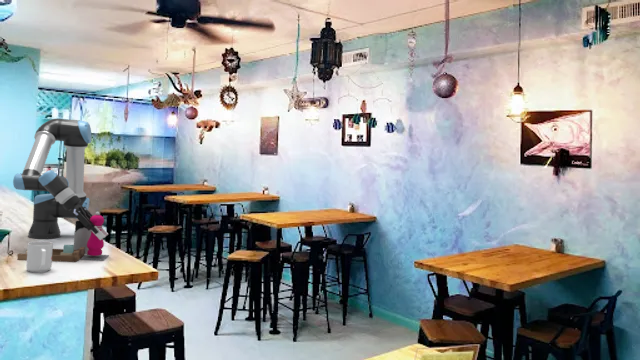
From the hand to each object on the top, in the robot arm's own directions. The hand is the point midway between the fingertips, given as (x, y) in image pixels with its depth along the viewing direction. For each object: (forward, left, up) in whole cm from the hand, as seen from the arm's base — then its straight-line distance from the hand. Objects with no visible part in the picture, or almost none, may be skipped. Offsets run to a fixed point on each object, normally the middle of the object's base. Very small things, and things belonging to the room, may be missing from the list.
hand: (104, 237), depth 223 cm
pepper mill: (0, -4, -8) cm, 9 cm away
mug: (+27, -18, -10) cm, 34 cm away
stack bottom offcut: (+2, -14, -10) cm, 18 cm away
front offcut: (+3, -29, -10) cm, 31 cm away
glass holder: (-13, -13, -10) cm, 21 cm away
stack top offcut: (+2, -14, -7) cm, 16 cm away
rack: (+3, -21, -10) cm, 23 cm away
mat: (0, -4, -10) cm, 11 cm away
